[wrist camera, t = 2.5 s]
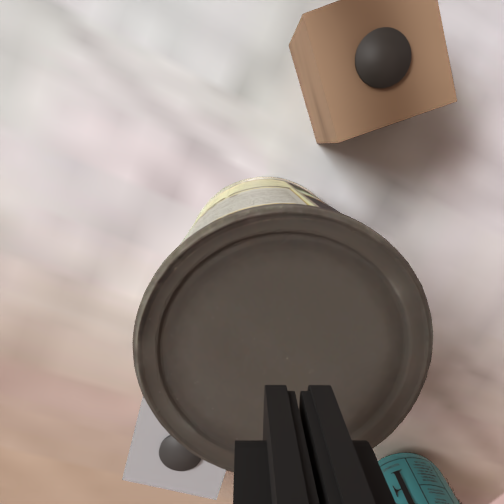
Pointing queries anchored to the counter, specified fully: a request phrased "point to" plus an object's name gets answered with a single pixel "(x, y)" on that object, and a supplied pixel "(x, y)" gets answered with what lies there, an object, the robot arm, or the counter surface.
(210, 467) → the grey dotted block
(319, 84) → the walnut dotted block
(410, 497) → the beverage bottle
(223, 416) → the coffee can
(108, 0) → the counter surface
